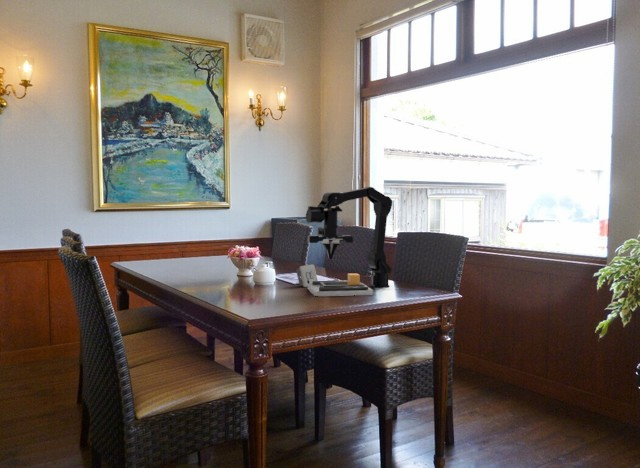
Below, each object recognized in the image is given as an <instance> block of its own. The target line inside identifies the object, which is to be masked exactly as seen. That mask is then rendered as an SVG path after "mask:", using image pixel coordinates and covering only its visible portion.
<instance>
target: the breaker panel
mask: <svg viewBox="0 0 640 468" xmlns="http://www.w3.org/2000/svg"><path fill="white" fill-rule="evenodd" d="M307 290H308V291H309V293H311V294H312V296H314V297H315V296H318V297H345V296H346V297H348V296H349V297H350V296H354V295H355V296H374V289H372V288H371V287H369V286H368V285H366V284H364V283H363V282H361V281H360V285H348V279H347V280H345V279H344V280H318V281H312V284H308V287H307Z"/></svg>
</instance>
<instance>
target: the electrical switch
mask: <svg viewBox="0 0 640 468" xmlns="http://www.w3.org/2000/svg"><path fill="white" fill-rule="evenodd" d="M295 270H296V276H297V281H298V284H299V285H298V286H299V287H304V288H308V284H312V281H319V280H318V276H317V273H316V267H315V264H307V265H306V264H305V265H301V266H299V268H297V269H295Z"/></svg>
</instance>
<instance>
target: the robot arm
mask: <svg viewBox="0 0 640 468" xmlns="http://www.w3.org/2000/svg"><path fill="white" fill-rule="evenodd" d="M361 198H362V199H363V198H367V199H368V200H369V202H371V203H372V205H373V211H374V214H375V223H374V233H373V243H372V249H371V251H367V258H366V261H367V265H368V266H369V269H370V271H371V272H372V275H371V286H373V287H375V288H388V287H389V288H390V285H389V274H391V272H392V267H391V266H390V265H389V264H388V263H387V254H386V253H385V240H386V230H387V219H388V216H389V214H390V213H391V212H392V211H391V209H392V207H393V199H392V198H391V197H390V196H386V195H385V194H383V193H382V192H380V191H378V190H377V189H375V188H374V187H373V186H365V187H363V188H357V189H353V190H348V191H343V192H335V191H334V192H330V191H329V192H325V193H324V194H323V195H322V198H321V201H320V202H319V203H318V205H317V206H307V210H306V213H305V220H306V222H307V223H308V224H311V223H312V224H313V223H315V224H316V223H318V224H319V223H323V227H319V226H318V227H317V234H313V235H311V234H309V235H308V236H307V242H308V243H309V244H317V243H319V242H321V243H320V244H321V245H323V247H324V248H325V250H326V253H327V254H326V255H327V257H328V260H333V259H332V258H333V256H334V254H335V251H336V250H337V247H338V246H339V245H341V243H340V242H345V243H348V244H349V243H352V244H353V243H354V236H353V235H351V234H342V235H341V236H338V213H340V212H341V213H342V212H343V209H342V208H341V207H340V206H339V205H341V204H343V203H345V202H347V201H352V200H357V199H361Z"/></svg>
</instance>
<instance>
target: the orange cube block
mask: <svg viewBox="0 0 640 468" xmlns="http://www.w3.org/2000/svg"><path fill="white" fill-rule="evenodd" d="M347 280H348V285H360V282H361V275H360V274H359V273H347Z"/></svg>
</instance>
